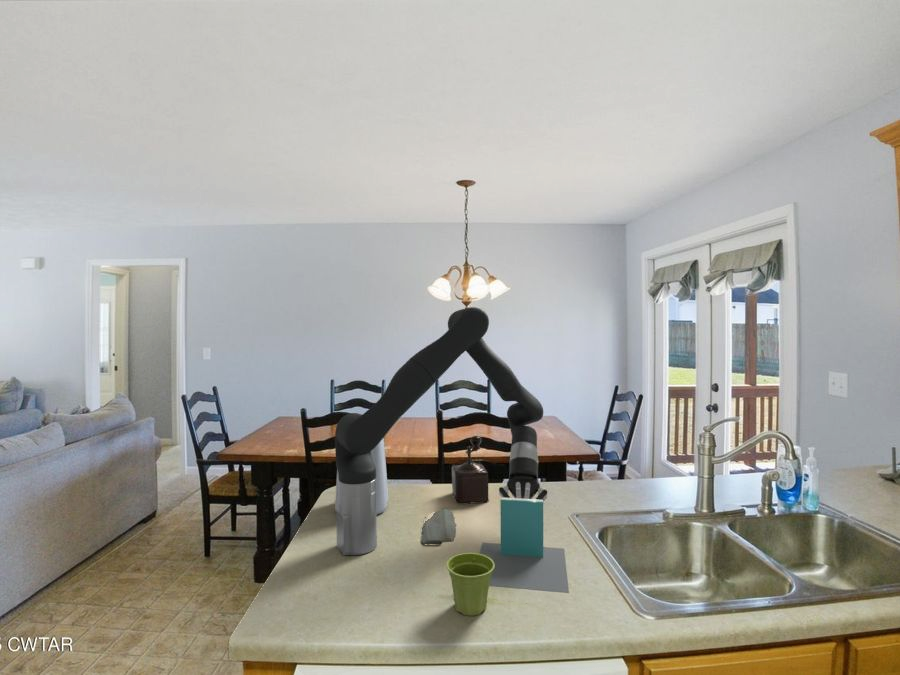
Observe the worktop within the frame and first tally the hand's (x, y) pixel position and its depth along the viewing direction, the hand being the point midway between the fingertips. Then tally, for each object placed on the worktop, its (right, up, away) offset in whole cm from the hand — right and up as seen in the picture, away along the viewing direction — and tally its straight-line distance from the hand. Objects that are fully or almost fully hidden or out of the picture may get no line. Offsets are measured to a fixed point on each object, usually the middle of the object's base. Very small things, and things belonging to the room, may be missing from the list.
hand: (522, 526), depth 121 cm
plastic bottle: (-45, -6, +29) cm, 53 cm away
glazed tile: (-1, -5, -4) cm, 7 cm away
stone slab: (-21, -6, +14) cm, 26 cm away
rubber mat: (-2, -6, -9) cm, 11 cm away
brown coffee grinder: (-12, -5, +39) cm, 41 cm away
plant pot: (-14, -7, -24) cm, 29 cm away
